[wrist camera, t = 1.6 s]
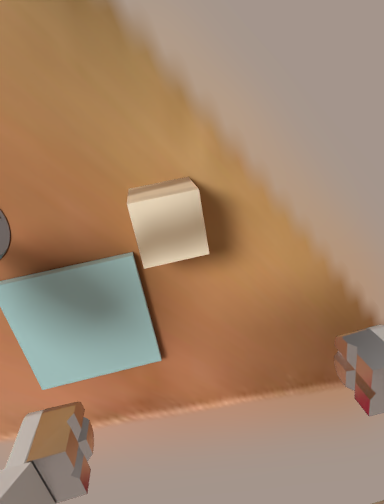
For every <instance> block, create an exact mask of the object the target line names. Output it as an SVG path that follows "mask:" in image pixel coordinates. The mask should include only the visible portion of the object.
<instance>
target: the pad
mask: <svg viewBox="0 0 384 504" xmlns="http://www.w3.org/2000/svg"><path fill="white" fill-rule="evenodd" d="M0 307H1V309H2V311H3V313H4V315H5V317H6V319H7V321H8V323H9V325H10V327H11V329H12V331H13V332H14V334H15V336H16V338H17V340H18V342H19V344H20V346H21V348H22V350H23V352H24V354H25V356H26V358H27V360H28V362H29V364H30V366H31V368H32V370H33V372H34V374H35V376H36V378H37V380H38V382H39V384H40V386H41V388H42V390H45V389H49V388H53V387H57V386H61V385H65V384H69V383H73V382H77V381H81V380H85V379H89V378H93V377H97V376H101V375H105V374H109V373H113V372H117V371H121V370H125V369H129V368H133V367H137V366H141V365H145V364H149V363H153V362H157V361H161V353H160V350H159V346H158V342H157V339H156V335H155V331H154V328H153V324H152V320H151V317H150V313H149V309H148V306H147V302H146V298H145V295H144V291H143V287H142V284H141V280H140V276H139V273H138V269H137V265H136V262H135V258H134V254H133V252H131V253H126V254H122V255H117V256H113V257H108V258H103V259H99V260H94V261H90V262H85V263H81V264H76V265H72V266H67V267H63V268H58V269H53V270H49V271H44V272H40V273H35V274H31V275H26V276H22V277H17V278H12V279H8V280H3V281H0Z"/></svg>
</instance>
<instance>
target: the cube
mask: <svg viewBox="0 0 384 504" xmlns="http://www.w3.org/2000/svg"><path fill="white" fill-rule="evenodd" d="M127 206H128V210H129V214H130V217H131V221H132V225H133V229H134V232H135V236H136V240H137V244H138V248H139V251H140V255H141V259H142V263H143V267H144V269H145V268H150V267H154V266H158V265H163V264H167V263H172V262H176V261H180V260H185V259H189V258H194V257H198V256H203V255H207V254H209V248H208V242H207V236H206V230H205V224H204V218H203V212H202V205H201V199H200V193H199V189H198V188H197V186H196V185H195V184H194V183H193V182H192V181H191V179H190V178H189V177H184V178H179V179H174V180H170V181H165V182H160V183H155V184H150V185H145V186H140V187H136V188H131V189H129V190H128V199H127Z"/></svg>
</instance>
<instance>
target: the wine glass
mask: <svg viewBox="0 0 384 504" xmlns="http://www.w3.org/2000/svg"><path fill="white" fill-rule="evenodd" d="M9 243H10V228H9V224H8V222H7V219H6V217H5V216H4V214H3V212H2V211H1V210H0V259H1V258H2V257H3V256H4V254H5V253H6V251H7V249H8V247H9Z"/></svg>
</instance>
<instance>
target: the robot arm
mask: <svg viewBox="0 0 384 504" xmlns="http://www.w3.org/2000/svg"><path fill="white" fill-rule="evenodd" d="M335 347H336V348H337V350H338V352H337V354H336V355H335V356H334V365H335V368H336V372H337V374H338V376H339V378H340V380H341V381H342V383H343V384H344V385H345V387H347V388H350V389H352V390H354V391H355V399H356V401H357V402H358V403H359V404H360V406H361V407H362V408H363V410H364V411H365V412H366V413H367V415H368V416H373V415H377V414H381V413H384V325H382V324H380V325H376V326H373V327H369V328H366V329H361V330H358V331H354V332H350V333H346V334H342V335H339V336H336V338H335ZM84 411H85V409H84V407H83V405H82V403H81V402H74V403H70V404H65V405H61V406H56V407H52V408H48V409H45V410H40V411H36V412H32V413H28V414H27V415H26V416H25V417H24V419H23V422H22V424H21V427H20V430H19V432H18V435H17V437H16V440H15V443H14V445H13V448H12V451H11V453H10V456H9V459H8V461H7V464H6V466H5V469H2V470H0V504H56V503H59V502H62V501H66V500H69V499H72V498H76V497H79V496H82V495H85V494H87V493H88V486H89V478H90V472H91V469H90V466H89V464H88V462H87V461H88V460H89V459H90V457H91V456H92V454H93V447H94V434H93V429H92V425H91V423H90V420H88V419H87V418H85V417H84ZM372 504H384V500H383V501H379V502H376V503H372Z"/></svg>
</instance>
